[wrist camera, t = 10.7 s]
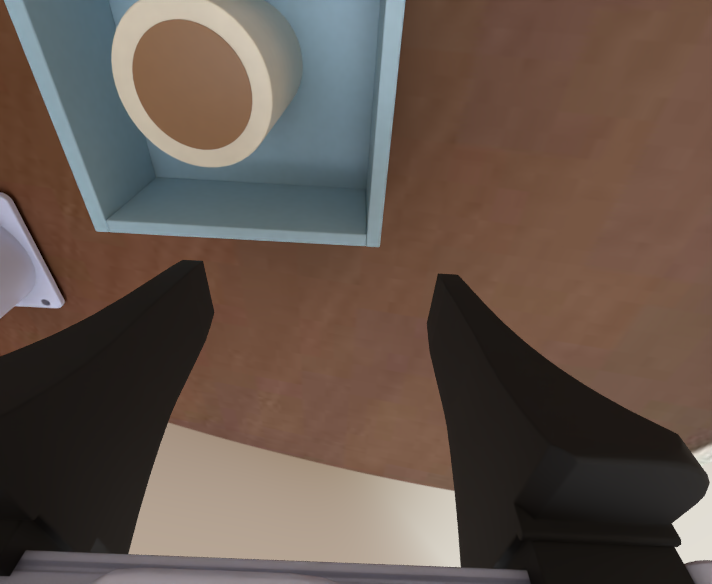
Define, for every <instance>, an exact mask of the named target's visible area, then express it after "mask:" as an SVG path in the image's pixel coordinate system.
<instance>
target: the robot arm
mask: <svg viewBox="0 0 712 584" xmlns="http://www.w3.org/2000/svg"><path fill="white" fill-rule="evenodd" d="M64 303H65V301H64V298H63V296H62V295H61V293H60V291H59V289H58V287H57V285H56V283H55V281H54V279H53V277H52V275H51V273H50V271H49V269H48V267H47V266H46V264H45V262H44V260H43V258H42V256H41V254H40V252H39V250H38V248H37V246H36V244H35V242H34V240H33V238H32V237H31V235H30V233H29V231H28V229H27V227H26V225H25V223H24V221H23V219H22V217H21V215H20V213H19V211H18V210H17V208H16V206H15V204H14V202H13V200H12V199H11V198H10V197H9V196H8V195H6V194H4V193H1V192H0V318H2V317H3V316H4V315H5V314H6V313H7V312H8V311H10V310H11V309H12V308H13V307H14V306H23V307H43V308H60V307H62V306H63V305H64ZM213 315H214V309H213V304H212V300H211V295H210V291H209V286H208V282H207V277H206V273H205V268H204V264H203V261H193V260H182V261H180V262H178V263H176V264H175V265H173V266H171V267H170V268H168V269H167V270H165V271H164V272H162V273H160V274H159V275H157V276H156V277H154V278H153V279H151V280H150V281H148V282H147V283H145V284H143V285H142V286H140V287H139V288H137V289H136V290H134V291H133V292H131V293H129V294H128V295H126V296H124V297H123V298H121V299H119V300H118V301H116V302H114V303H113V304H111V305H109V306H107V307H106V308H104V309H102V310H101V311H99V312H97V313H95V314H94V315H92V316H90V317H88V318H86V319H84V320H82V321H80V322H79V323H77V324H75V325H72V326H70V327H68V328H66V329H64V330H62V331H60V332H58V333H56V334H54V335H52V336H49V337H47V338H45V339H42V340H40V341H37V342H35V343H33V344H30V345H28V346H25V347H23V348H21V349H18V350H16V351H13V352H11V353H9V354H6V355H3V356H1V357H0V584H712V561H710V560H709V561H708V560H703V561H694V562H689V563H686V564H684V563H683V562H682V560H681V558H680V556H679V555H678V553H677V551H676V549H675V547H678V546H679V545H681V539H680V537H679V536H678V534H677V532H676V530H675V529H674V527H673V525H672V524H671V523H673V522H674V521H675V520H676V519H678V518H679V517H680V516H681V515H683V514H684V513H685V512H687V511H688V510H689V509H690V508H692V507H693V506H694V505H696V504H697V503H698V502H699V501H700V500H701V499H702V498H703V497H704V496H705V494H706V491H707V488H708V486H709V479H708V475H707V474H706V472H705V471H704V470H703V468H702V467H701V465H700V464H699V463H698V461H697V460H696V458H695V457H694V456H693V454H692V453H691V451H690V450H689V449H688V447H687V446H686V445H685V443H684V442H683V440H682V439H681V438H680V437H679V435H678V434H676V433H674V432H672V431H670V430H668V429H666V428H664V427H662V426H660V425H658V424H656V423H654V422H652V421H650V420H648V419H646V418H644V417H642V416H640V415H638V414H636V413H633V412H631V411H630V410H628V409H626V408H624V407H622V406H620V405H619V404H617V403H615V402H613V401H611V400H610V399H608V398H606V397H604V396H602V395H601V394H599V393H597V392H596V391H594V390H592V389H591V388H589V387H587V386H586V385H584V384H582V383H581V382H579V381H578V380H576V379H575V378H573V377H572V376H570V375H569V374H567V373H566V372H564V371H563V370H561V369H560V368H558V367H557V366H556V365H554V364H553V363H551V362H550V361H549V360H547V359H546V358H545V357H543V356H542V355H541V354H539V353H538V352H537V351H536V350H534V349H533V348H532V347H530V346H529V345H528V344H527V343H526V342H524V341H523V340H522V339H521V338H520V337H519V336H517V335H516V334H515V333H514V332H513V331H512V330H511V329H510V328H509V327H508V326H506V325H505V324H504V323H503V322H502V321H501V320H500V319H499V318H498V317H497V316H496V315H495V314H494V313H493V312H492V311H491V310H490V309H489V308H488V307H487V306H486V305H485V304H484V303H483V301H482V300H481V299H480V298H479V297H478V296H477V295H476V294H475V293H474V292H473V291H472V290H471V288H470V287H469V286H468V285H467V284H466V283H465V282H464V281H463V280H462V279H461V278H460V277H459V276H458V275H452V274H438V276H437V281H436V285H435V290H434V294H433V299H432V303H431V308H430V312H429V317H428V321H427V329H428V340H429V349H430V355H431V359H432V364H433V368H434V372H435V376H436V380H437V385H438V389H439V393H440V397H441V401H442V405H443V410H444V414H445V419H446V424H447V431H448V439H449V446H450V454H451V463H452V472H453V480H454V489H455V500H456V511H457V522H458V533H459V547H460V561H461V568H460V567H436V566H435V567H434V566H409V565H385V564H359V563H334V562H310V561H285V560H259V559H234V558H208V557H183V556H158V555H131V554H128V552H129V549H130V545H131V541H132V537H133V533H134V530H135V526H136V522H137V518H138V514H139V511H140V507H141V504H142V501H143V497H144V494H145V490H146V487H147V484H148V480H149V477H150V474H151V470H152V468H153V464H154V462H155V458H156V455H157V452H158V449H159V446H160V443H161V440H162V438H163V435H164V432H165V429H166V426H167V424H168V421H169V418H170V415H171V413H172V410H173V408H174V406H175V403H176V401H177V399H178V397H179V395H180V393H181V391H182V389H183V387H184V385H185V382H186V380H187V378H188V376H189V374H190V372H191V370H192V368H193V366H194V364H195V362H196V360H197V358H198V356H199V354H200V351H201V349H202V347H203V345H204V343H205V341H206V338H207V335H208V332H209V329H210V326H211V322H212V319H213Z"/></svg>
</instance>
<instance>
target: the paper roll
mask: <svg viewBox="0 0 712 584" xmlns="http://www.w3.org/2000/svg"><path fill="white" fill-rule="evenodd" d="M111 63H112V72H113V77H114V81H115V86H116V88H117V91H118V94H119V97H120V99H121V101H122V103H123V105H124V108H125V109H126V111H127V113H128V114H129V116H130V118H131V119H132V120H133V122H134V123H135V125H136V126H137V127H138V128H139V130H140V131H141V132H142V133H143V134H144V135H145V136H146V137H147V138H148V139H149V140H150V141H151V142H152V143H153V144H154V145H156V146H157V147H158V148H160V149H161V150H162V151H164V152H165V153H167V154H169V155H170V156H172V157H174V158H176V159H178V160H180V161H183V162H185V163H188V164H192V165H196V166H201V167H224V166H229V165H232V164H235V163H237V162H239V161H242V160H243V159H245V158H246V157H248V156H249V155H250V154H252V153H253V152H254V151H255V150H256V149H257V147H258V146H259V145H260V144H261V142H262V141H263V140H264V138H265V137H266V136H267V134H268V133H269V131H270V130H271V129H272V127H273V126H274V125H275V123H276V122H277V120H278V119H279V118H280V116H281V115H282V113H283V112H284V111H285V109H286V108H287V107H288V105H289V104H290V102H291V101H292V100H293V98H294V97H295V95H296V93H297V91H298V89H299V86H300V82H301V78H302V70H303V62H302V53H301V48H300V45H299V42H298V39H297V37H296V34H295V32H294V30H293V29H292V27H291V25H290V24H289V22H288V21H287V20H286V18H285V17H284V16H283V15H282V14H281V13H280V12H279V11H278V10H277V9H276V8H275V7H274V6H272V5H271V4H269V3H268V2H266V1H264V0H139V1H137V2H136V3H134V4H133V5H132V6H131V7H130V8H129V9H128V10H127V11H126V13H125V14H124V15H123V17H122V18H121V20H120V22H119V24H118V26H117V28H116V32H115V35H114V38H113V44H112V54H111Z"/></svg>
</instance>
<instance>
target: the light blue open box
mask: <svg viewBox="0 0 712 584" xmlns="http://www.w3.org/2000/svg"><path fill="white" fill-rule="evenodd" d="M137 1H139V0H4V2H5V4H6V7H7V9H8V12H9V14H10V17H11V19H12V22H13V24H14V27H15V29H16V32H17V34H18V37H19V39H20V42H21V45H22V47H23V50H24V52H25V55H26V57H27V60H28V62H29V65H30V67H31V70H32V72H33V75H34V77H35V80H36V82H37V85H38V87H39V90H40V92H41V95H42V97H43V100H44V102H45V105H46V107H47V110H48V112H49V115H50V117H51V120H52V122H53V125H54V127H55V130H56V132H57V135H58V137H59V140H60V142H61V145H62V147H63V150H64V152H65V155H66V157H67V160H68V162H69V165H70V167H71V170H72V172H73V175H74V177H75V180H76V182H77V185H78V187H79V190H80V192H81V195H82V197H83V200H84V202H85V205H86V207H87V210H88V212H89V215H90V217H91V220H92V223H93V225H94V228H95V230H96V231H98V232H116V233H134V234H152V235H171V236H189V237H207V238H225V239H243V240H261V241H279V242H298V243H316V244H334V245H352V246H367V247H380V239H381V230H382V220H383V211H384V201H385V192H386V182H387V173H388V163H389V153H390V144H391V134H392V125H393V115H394V106H395V96H396V87H397V77H398V67H399V58H400V48H401V39H402V29H403V20H404V10H405V1H406V0H264V1H266V2H268V3H269V4H271V5H272V6H274V7H275V8H276V9H277V10H278V11H279V12H280V13H281V14H282V15H283V16H284V17H285V18H286V20H287V21H288V22H289V24H290V25H291V27H292V29H293V30H294V32H295V34H296V37H297V39H298V42H299V45H300V48H301V53H302V62H303V70H302V78H301V82H300V86H299V89H298V91H297V93H296V95H295V97H294V98H293V100H292V101H291V102H290V104H289V105H288V107H287V108H286V109H285V111H284V112H283V113H282V115H281V116H280V118H279V119H278V120H277V122H276V123H275V125H274V126H273V127H272V129H271V130H270V131H269V133H268V134H267V136H266V137H265V138H264V140H263V141H262V142H261V144H260V145H259V146H258V147H257V149H256V150H255V151H254V152H253V153H252V154H250V155H249V156H248V157H246V158H245V159H243V160H242V161H239V162H237V163H235V164H232V165H229V166H224V167H201V166H196V165H192V164H188V163H185V162H183V161H180V160H178V159H176V158H174V157H172V156H170V155H169V154H167V153H165V152H164V151H162V150H161V149H160V148H158V147H157V146H156V145H154V144H153V143H152V142H151V141H150V140H149V139H148V138H147V137H146V136H145V135H144V134H143V133H142V132H141V131H140V130H139V128H138V127H137V126H136V125H135V123H134V122H133V120H132V119H131V118H130V116H129V114H128V113H127V111H126V109H125V108H124V105H123V103H122V101H121V99H120V97H119V94H118V91H117V88H116V86H115V81H114V77H113V72H112V63H111V54H112V44H113V38H114V35H115V32H116V28H117V26H118V24H119V22H120V20H121V18H122V17H123V15H124V14H125V13H126V11H127V10H128V9H129V8H130V7H131V6H132V5H133V4H134V3H136V2H137Z"/></svg>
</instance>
